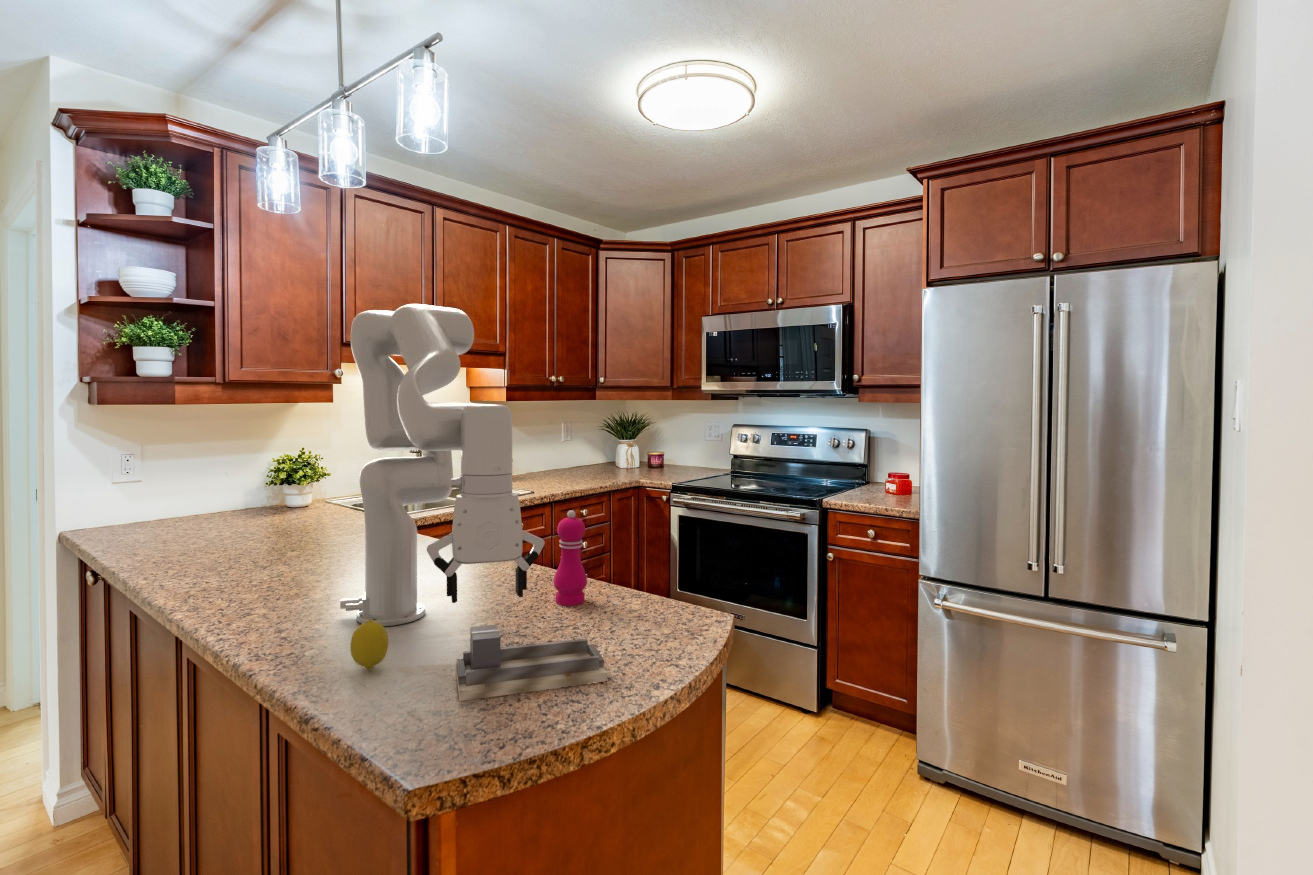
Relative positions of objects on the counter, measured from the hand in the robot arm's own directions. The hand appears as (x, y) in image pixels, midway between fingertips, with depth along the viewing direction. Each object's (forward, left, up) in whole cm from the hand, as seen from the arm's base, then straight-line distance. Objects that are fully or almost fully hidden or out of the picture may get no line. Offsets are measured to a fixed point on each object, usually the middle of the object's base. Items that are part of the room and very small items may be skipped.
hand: (487, 597), depth 98 cm
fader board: (+7, +1, -13) cm, 15 cm away
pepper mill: (+21, +37, -14) cm, 44 cm away
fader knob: (0, +1, -11) cm, 12 cm away
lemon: (-17, +11, -14) cm, 24 cm away
